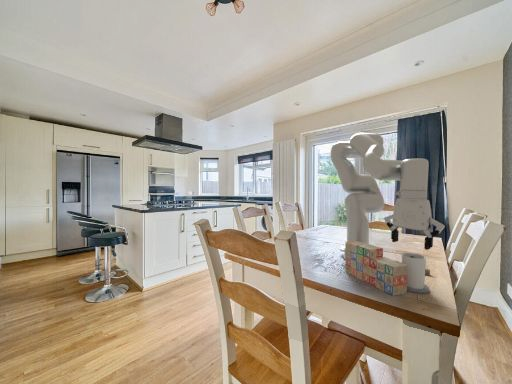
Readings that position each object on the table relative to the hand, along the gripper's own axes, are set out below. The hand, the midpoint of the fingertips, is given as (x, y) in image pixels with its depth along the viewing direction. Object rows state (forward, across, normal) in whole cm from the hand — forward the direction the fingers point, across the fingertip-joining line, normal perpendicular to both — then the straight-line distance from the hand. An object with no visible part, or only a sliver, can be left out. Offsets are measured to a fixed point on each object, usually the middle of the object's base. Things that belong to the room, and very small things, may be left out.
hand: (410, 245), depth 73 cm
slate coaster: (+14, +1, -1) cm, 14 cm away
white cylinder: (+13, +2, -1) cm, 14 cm away
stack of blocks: (+15, -9, -7) cm, 18 cm away
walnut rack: (+15, -6, +11) cm, 19 cm away
